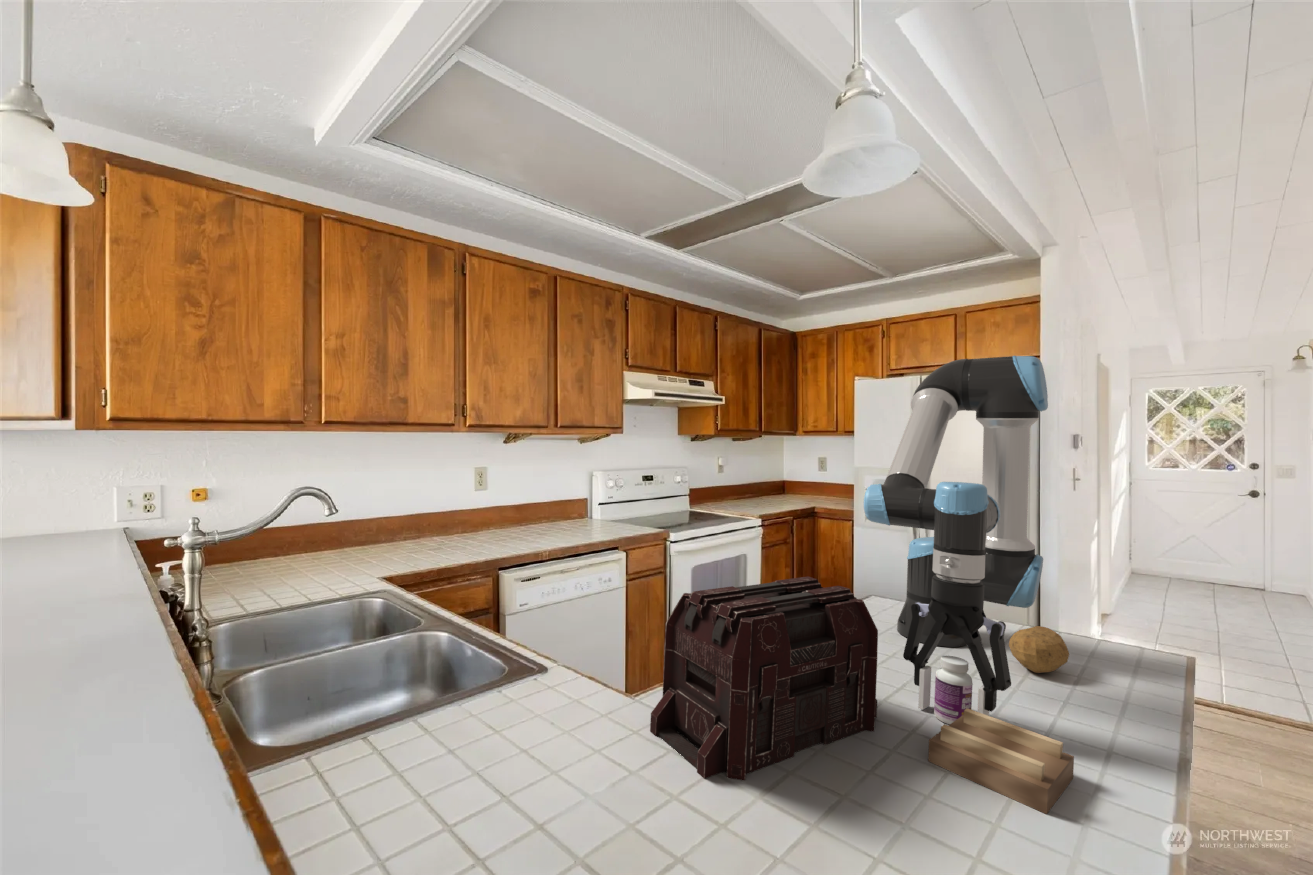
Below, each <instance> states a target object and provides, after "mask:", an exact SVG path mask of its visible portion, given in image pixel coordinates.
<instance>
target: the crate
mask: <svg viewBox="0 0 1313 875" xmlns="http://www.w3.org/2000/svg"><path fill="white" fill-rule="evenodd" d="M878 641H879V630H878V627H877V626H876V624H875V621H874V619H873V617H872V616H871V613H870V611H869V609H868V607H867V605H866V603H865V602H864V599H860V598H857V597H855V594H854V592H853V593H852V591H851V589H850V588H848V587H844V586H841V585H834V586H827V587H823V586H822V583H820V582H819V579H817V578H813V577H811V576H802V577H794V578H793V577H792V578H785V579H778V580H775V581H772V582H766V583H765V582H764V583H758V584H750V585H743V586H742V585H741V586H724V587H717V588H709V589H703V590H695V591H694V590H693V591H692V592H690V593H689V592H688V593H687V592H684V593H683V594H682V595H681V597H680V599H678V602H677V603H676V605H675V607H674V609H673V610H672V611H671V614H670V615H669V617H668V618H667V621H666V622H665V633H664V649H663V650H664V652H663V653H664V654H663V658H664V659H663V674H662V676H663V677H662V678H663V680H662V697H661V699H660V700H659V701H658V703H657V704H656V705H655V706H654V708H653V709H652V710H651V712H650V720H649V721H650V722H649V723H650V724H649V731H650V733H651V734H652V736H654V737H659V738H660V739H661V740H662V739H663V740H662V741H663V742H664V743H666V744H667V745H668V747H670V746H671V747H670V748H672V749H673V750H674V749H675V750H676V751H677V752H678V753H677V752H676V751H675V750H674V751H675V752H676V753H677V754H679V755H680V754H681V755H680V756H681V757H682V756H683V757H684V758H683V757H682V758H683V759H684V760H686V761H687V762H688V764H690V765H691V766H692V767H694V768H695V769H696V773H697V774H698V775H699V776H700V777H701V778H703V779H707V778H710V777H713V776H716V775H718V774H721V773H726V778H727V777H728V779H733V780H740V781H746V778H747V777H746V776H747V775H748V774H750V773H751V774H752V773H755V772H756V771H759V770H761V769H764V768H766V767H769V766H772V765H775V764H777V763H780V762H783V761H786V760H788V759H791V758H794V757H795V753H797V752H800V751H803V750H805V749H806V750H807V749H808V748H811V747H813V746H817V745H819V744H823V745H824V746H825V745H826V746H827V745H829V744H832V743H834V742H837V741H840V740H842V739H843V740H844V739H846V738H848V737H851V736H854V735H856V734H859V733H861V732H864V731H866V732H867V731H868V732H872V733H873V732H875V726H876V724H875V723H876V718H877V716H878V713H877V712H878V700H877V698H876V697H877V675H878V674H877V672H878V650H879V649H878V648H879V647H878V644H879V643H878Z"/></svg>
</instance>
